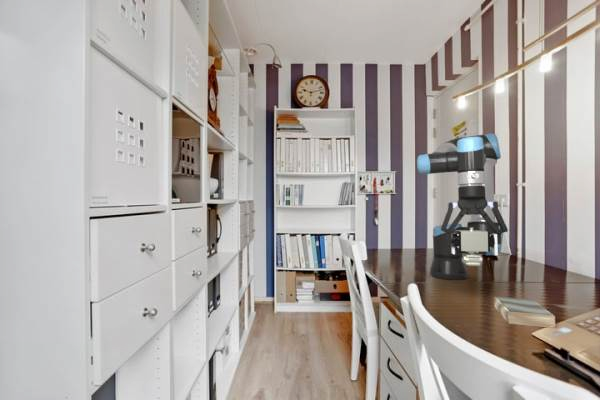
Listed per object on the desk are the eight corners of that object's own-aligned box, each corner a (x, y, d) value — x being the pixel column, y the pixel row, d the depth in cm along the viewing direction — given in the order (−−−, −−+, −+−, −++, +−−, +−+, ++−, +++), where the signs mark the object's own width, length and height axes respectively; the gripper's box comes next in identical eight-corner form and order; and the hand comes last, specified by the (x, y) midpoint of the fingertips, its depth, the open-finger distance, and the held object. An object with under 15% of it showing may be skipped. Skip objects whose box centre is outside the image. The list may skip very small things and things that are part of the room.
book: (494, 306, 91) (493, 296, 91) (533, 310, 88) (532, 298, 88) (508, 323, 78) (508, 311, 78) (555, 328, 75) (554, 315, 75)
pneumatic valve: (495, 267, 91) (495, 228, 91) (454, 265, 93) (453, 227, 93) (488, 263, 96) (487, 226, 96) (449, 262, 99) (448, 226, 99)
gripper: (432, 186, 95) (434, 254, 95) (519, 183, 87) (522, 257, 87) (430, 188, 102) (432, 251, 102) (510, 184, 94) (513, 253, 94)
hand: (473, 254), depth 94 cm, fingers closed on pneumatic valve, 11 cm apart
